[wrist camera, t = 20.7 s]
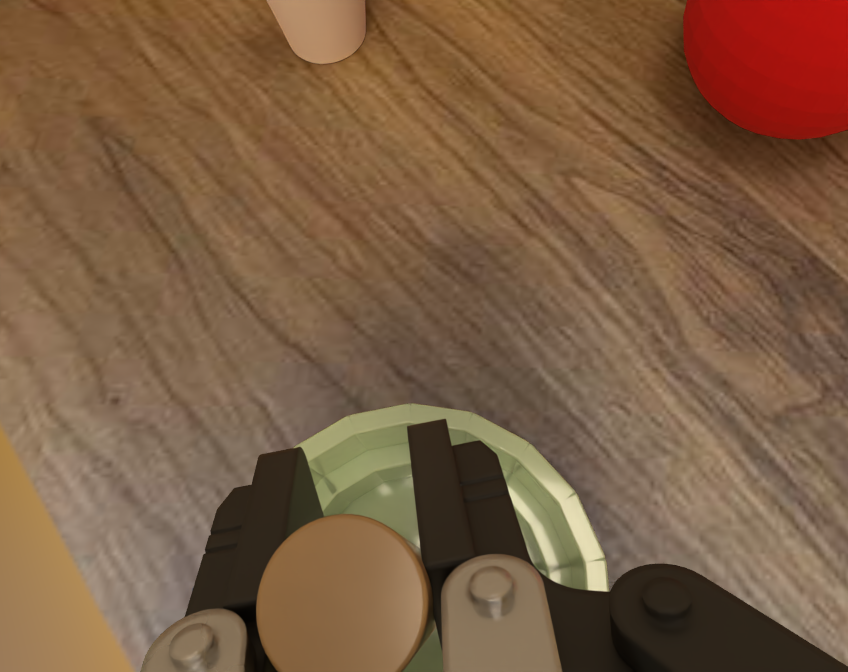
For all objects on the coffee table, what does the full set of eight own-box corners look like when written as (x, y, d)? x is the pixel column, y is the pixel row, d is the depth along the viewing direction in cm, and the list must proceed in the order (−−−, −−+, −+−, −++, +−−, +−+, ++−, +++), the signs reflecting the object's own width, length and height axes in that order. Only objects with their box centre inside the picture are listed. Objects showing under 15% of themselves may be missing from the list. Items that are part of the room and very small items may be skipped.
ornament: (715, -16, 31) (819, -272, 22) (909, 66, 29) (1118, -179, 20) (618, 122, 29) (688, -96, 20) (820, 222, 27) (1007, 30, 18)
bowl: (615, 731, 21) (666, 784, 16) (293, 795, 21) (230, 871, 16) (537, 420, 25) (556, 372, 19) (261, 474, 25) (200, 443, 19)
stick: (448, 552, 22) (411, 498, 8) (461, 617, 21) (443, 682, 7) (388, 563, 22) (246, 531, 8) (398, 629, 21) (263, 718, 7)
